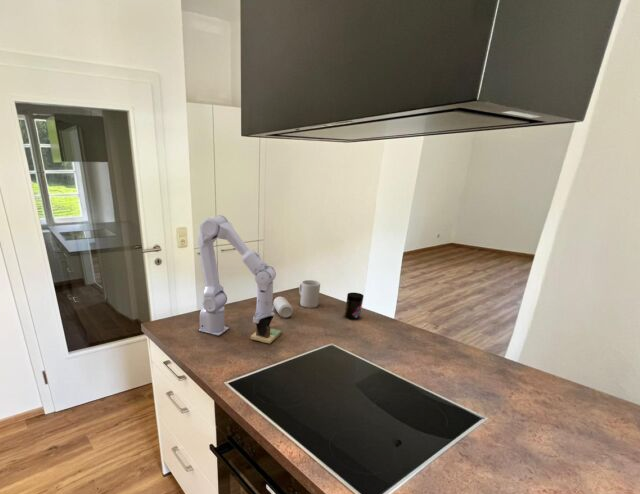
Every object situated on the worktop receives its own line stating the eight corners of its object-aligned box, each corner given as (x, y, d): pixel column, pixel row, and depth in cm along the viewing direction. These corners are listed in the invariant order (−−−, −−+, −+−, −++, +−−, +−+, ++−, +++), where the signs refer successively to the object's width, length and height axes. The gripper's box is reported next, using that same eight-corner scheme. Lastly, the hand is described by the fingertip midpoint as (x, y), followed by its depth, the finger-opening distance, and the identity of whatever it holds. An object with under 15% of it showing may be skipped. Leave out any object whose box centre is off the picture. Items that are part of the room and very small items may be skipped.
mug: (321, 306, 171) (324, 283, 166) (307, 309, 167) (310, 286, 162) (305, 298, 180) (307, 277, 176) (291, 301, 176) (293, 279, 172)
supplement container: (349, 320, 155) (352, 298, 151) (341, 314, 161) (344, 293, 157) (363, 319, 157) (366, 297, 152) (354, 313, 162) (358, 292, 158)
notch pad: (256, 334, 140) (256, 332, 140) (262, 329, 145) (262, 326, 145) (275, 339, 137) (275, 336, 137) (281, 333, 142) (281, 330, 141)
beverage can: (277, 317, 155) (270, 306, 166) (290, 320, 156) (283, 309, 167) (281, 303, 153) (275, 294, 163) (295, 306, 154) (287, 297, 165)
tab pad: (250, 338, 136) (250, 326, 134) (259, 331, 142) (259, 319, 140) (269, 343, 133) (270, 331, 131) (277, 336, 139) (278, 323, 137)
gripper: (266, 308, 122) (264, 344, 128) (282, 296, 134) (280, 329, 140) (247, 304, 125) (247, 339, 131) (265, 293, 137) (263, 325, 143)
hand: (262, 333), depth 136 cm, fingers closed on tab pad
